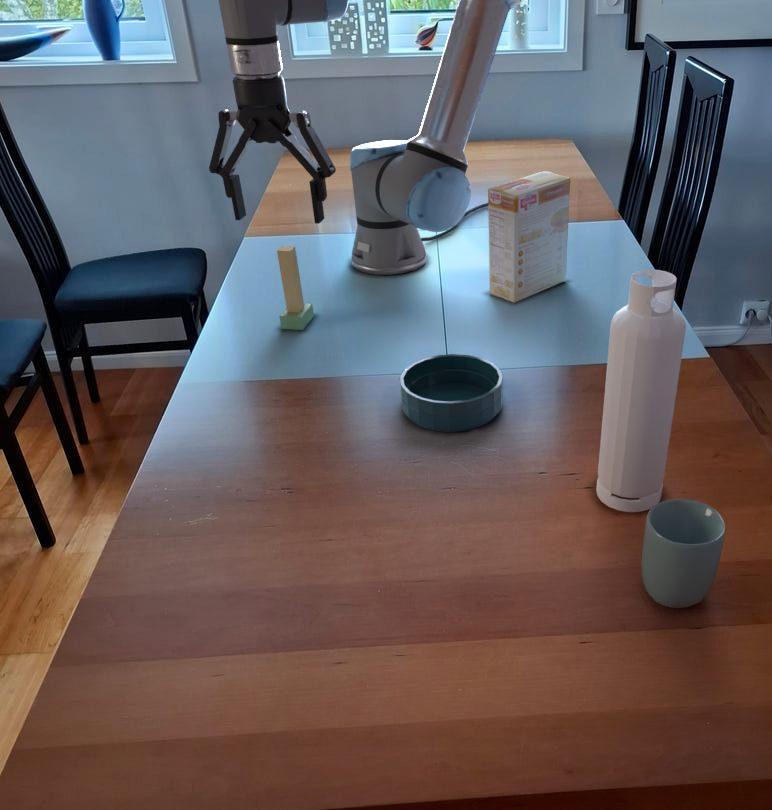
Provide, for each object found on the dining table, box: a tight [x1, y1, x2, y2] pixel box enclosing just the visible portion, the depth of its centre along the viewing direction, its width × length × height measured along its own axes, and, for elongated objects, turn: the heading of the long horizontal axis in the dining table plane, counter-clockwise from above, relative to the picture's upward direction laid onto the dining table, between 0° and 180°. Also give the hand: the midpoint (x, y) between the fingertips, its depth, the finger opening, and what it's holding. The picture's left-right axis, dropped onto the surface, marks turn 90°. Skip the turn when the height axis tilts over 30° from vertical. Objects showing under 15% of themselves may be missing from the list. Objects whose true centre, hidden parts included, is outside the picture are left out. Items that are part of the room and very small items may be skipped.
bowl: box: [399, 353, 504, 433], centre depth 118 cm, size 15×15×5 cm
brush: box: [276, 245, 315, 331], centre depth 140 cm, size 6×4×13 cm, turn 171°
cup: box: [640, 498, 726, 609], centre depth 84 cm, size 8×8×10 cm
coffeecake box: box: [487, 170, 571, 304], centre depth 150 cm, size 15×7×20 cm, turn 134°
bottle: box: [595, 269, 687, 513], centre depth 93 cm, size 8×8×28 cm
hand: (280, 219), depth 133 cm, fingers open, 13 cm apart
